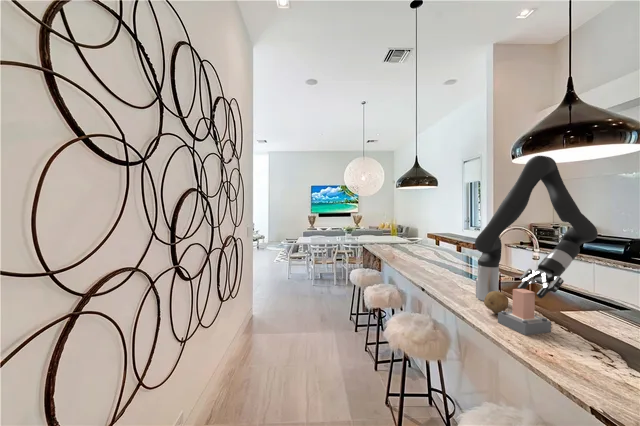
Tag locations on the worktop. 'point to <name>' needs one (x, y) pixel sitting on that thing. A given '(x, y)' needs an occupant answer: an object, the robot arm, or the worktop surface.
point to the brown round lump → (496, 301)
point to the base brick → (524, 323)
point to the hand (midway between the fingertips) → (528, 293)
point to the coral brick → (523, 303)
